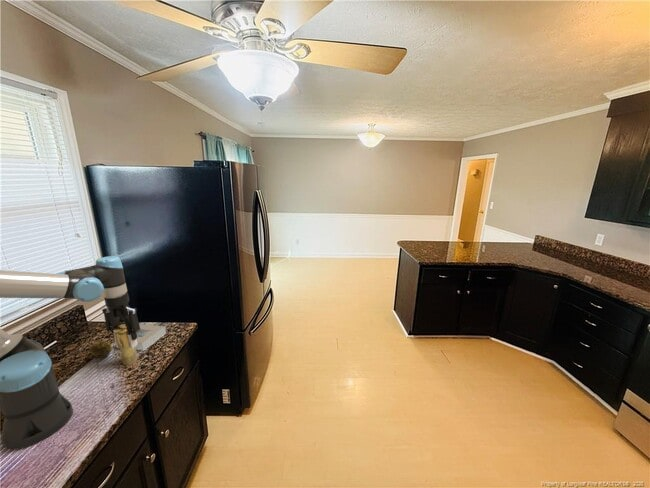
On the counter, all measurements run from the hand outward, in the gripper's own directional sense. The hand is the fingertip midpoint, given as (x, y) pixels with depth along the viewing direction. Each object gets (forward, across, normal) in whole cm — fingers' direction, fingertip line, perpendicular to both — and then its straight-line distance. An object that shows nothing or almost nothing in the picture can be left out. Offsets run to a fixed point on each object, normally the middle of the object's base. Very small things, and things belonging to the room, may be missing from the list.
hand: (127, 345), depth 110 cm
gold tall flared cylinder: (+7, 0, 0) cm, 7 cm away
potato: (+8, +16, -2) cm, 17 cm away
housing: (+7, +7, -14) cm, 17 cm away
